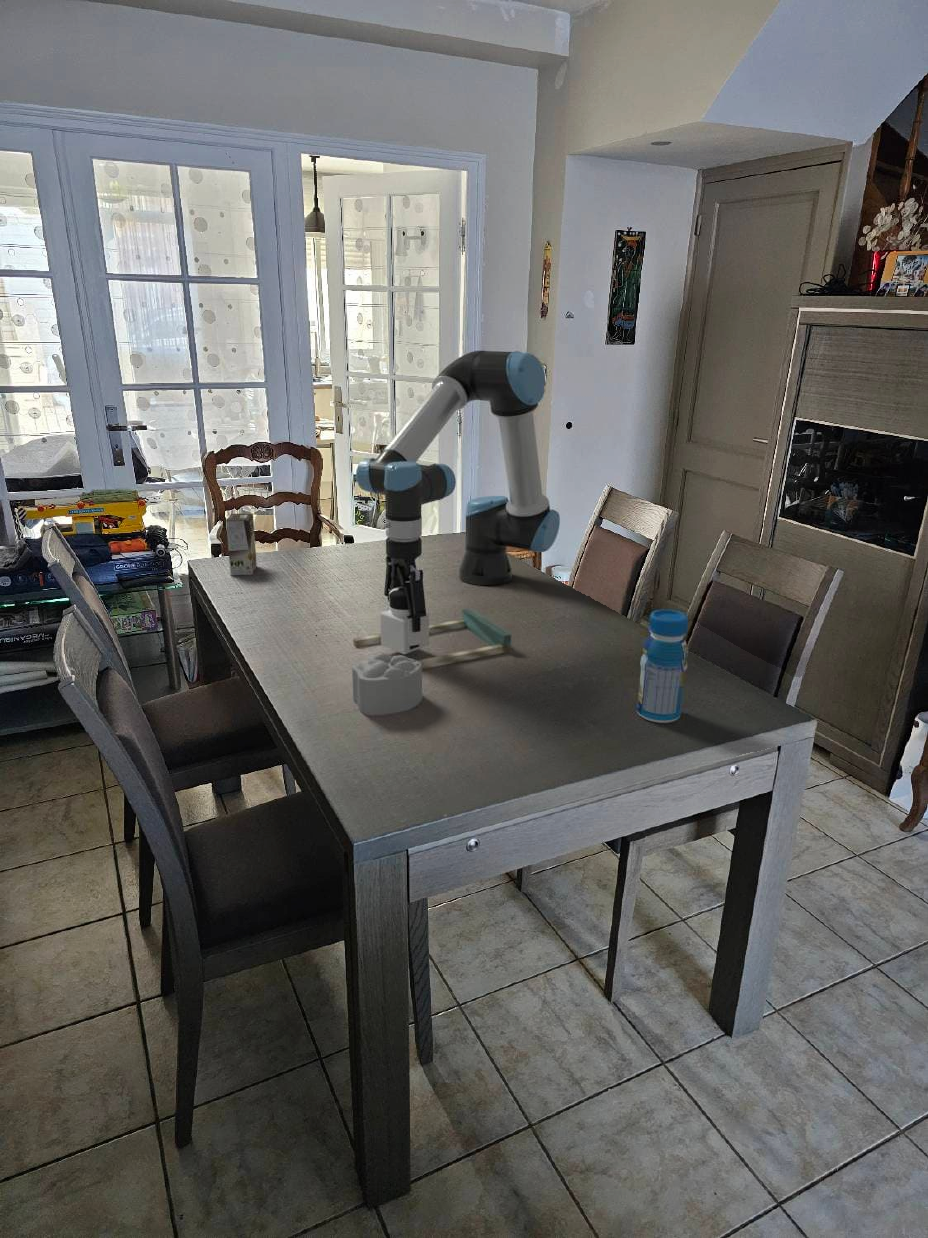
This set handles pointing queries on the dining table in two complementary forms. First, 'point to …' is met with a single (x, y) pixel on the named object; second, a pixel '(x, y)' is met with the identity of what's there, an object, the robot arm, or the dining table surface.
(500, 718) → the dining table surface
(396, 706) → the lumpy-topped squat cylinder
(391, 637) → the container
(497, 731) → the dining table surface
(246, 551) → the coffee box
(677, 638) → the beverage bottle
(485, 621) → the beige u-shaped frame
